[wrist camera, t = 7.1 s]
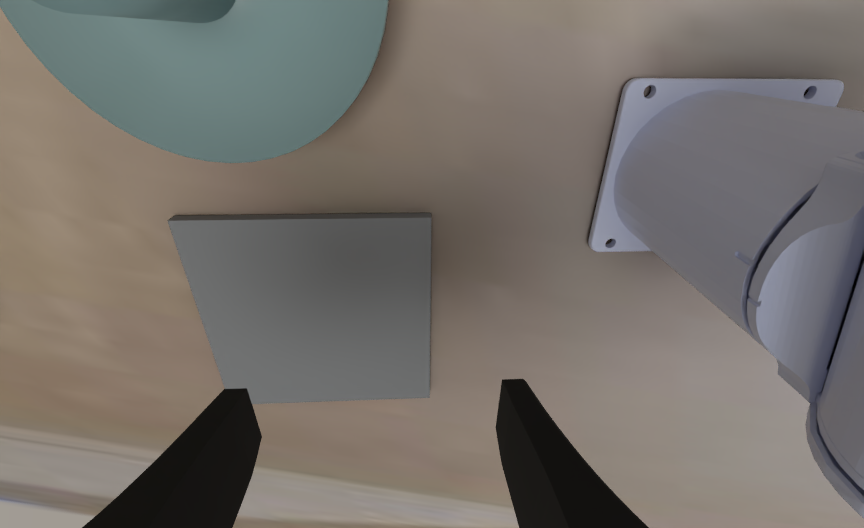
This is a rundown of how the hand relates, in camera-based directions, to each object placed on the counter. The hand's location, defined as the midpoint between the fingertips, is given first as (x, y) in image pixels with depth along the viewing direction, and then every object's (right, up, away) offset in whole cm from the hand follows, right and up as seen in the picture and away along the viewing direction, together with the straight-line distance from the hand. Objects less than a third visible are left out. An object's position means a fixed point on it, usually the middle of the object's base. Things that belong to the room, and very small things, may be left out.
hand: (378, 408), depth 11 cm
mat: (-5, +1, +10) cm, 11 cm away
